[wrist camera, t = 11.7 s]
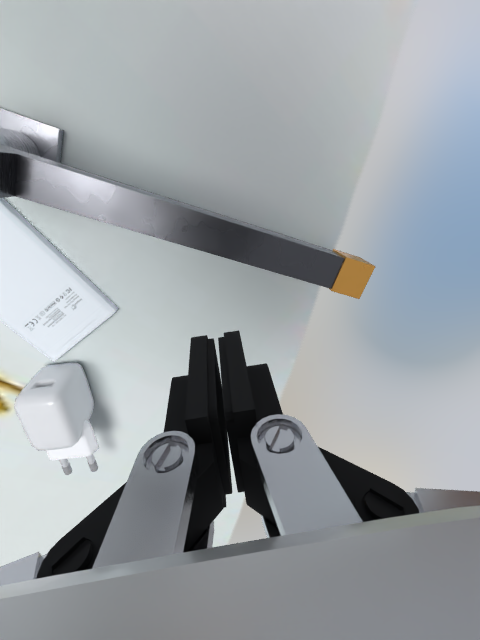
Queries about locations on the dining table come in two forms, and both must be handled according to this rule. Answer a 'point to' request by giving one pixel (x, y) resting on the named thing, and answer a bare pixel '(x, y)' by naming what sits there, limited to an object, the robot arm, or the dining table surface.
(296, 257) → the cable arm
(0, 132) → the post
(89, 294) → the external hard drive
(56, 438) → the power adapter
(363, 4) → the dining table surface
